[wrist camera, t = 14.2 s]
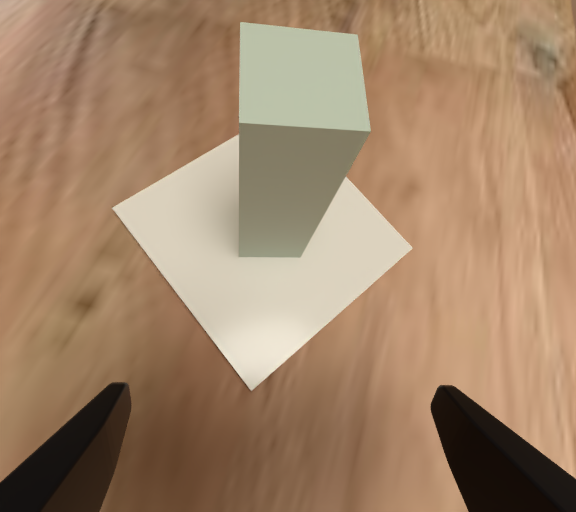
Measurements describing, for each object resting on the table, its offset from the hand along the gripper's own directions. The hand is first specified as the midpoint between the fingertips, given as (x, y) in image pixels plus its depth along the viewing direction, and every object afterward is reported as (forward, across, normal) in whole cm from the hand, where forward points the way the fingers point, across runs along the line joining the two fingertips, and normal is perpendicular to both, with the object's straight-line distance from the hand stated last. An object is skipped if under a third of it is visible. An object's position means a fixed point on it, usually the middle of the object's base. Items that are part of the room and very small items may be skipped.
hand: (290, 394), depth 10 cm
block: (+17, 0, +2) cm, 17 cm away
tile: (+17, 0, +2) cm, 17 cm away
